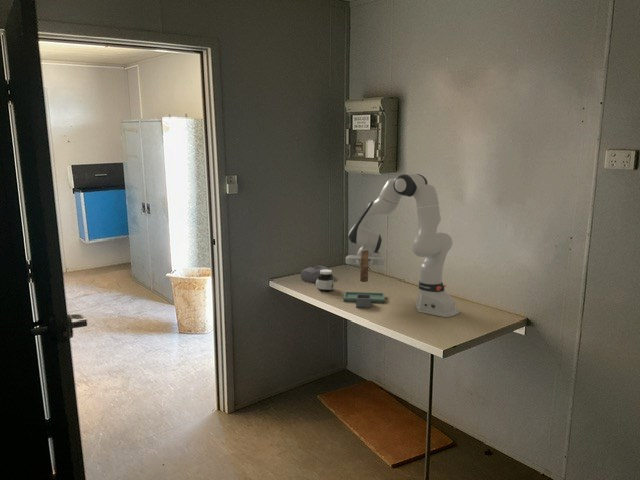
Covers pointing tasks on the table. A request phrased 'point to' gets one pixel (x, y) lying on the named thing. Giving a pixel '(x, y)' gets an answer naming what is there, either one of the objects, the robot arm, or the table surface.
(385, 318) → the table surface
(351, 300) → the tray
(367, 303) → the grey square sleeve
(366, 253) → the dowel
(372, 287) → the table surface
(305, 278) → the soft grey pack
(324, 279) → the spread jar
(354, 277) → the table surface
